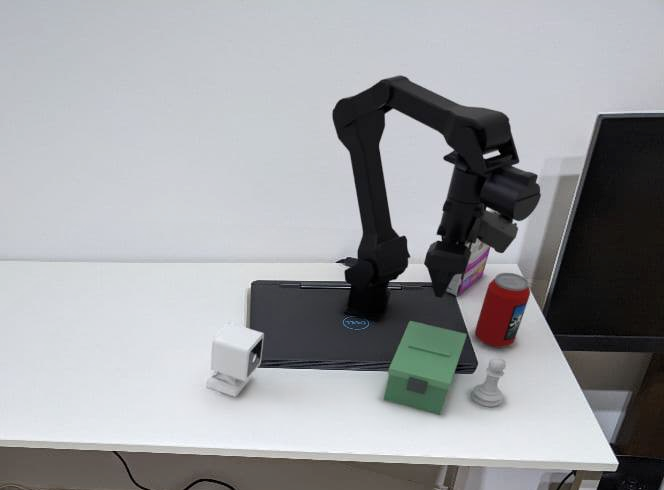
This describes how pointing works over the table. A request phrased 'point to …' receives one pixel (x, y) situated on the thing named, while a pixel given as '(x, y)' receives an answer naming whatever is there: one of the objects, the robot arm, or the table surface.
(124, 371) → the table surface
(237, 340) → the security camera
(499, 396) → the chess piece
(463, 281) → the candy bar box
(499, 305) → the beverage can
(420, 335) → the box
